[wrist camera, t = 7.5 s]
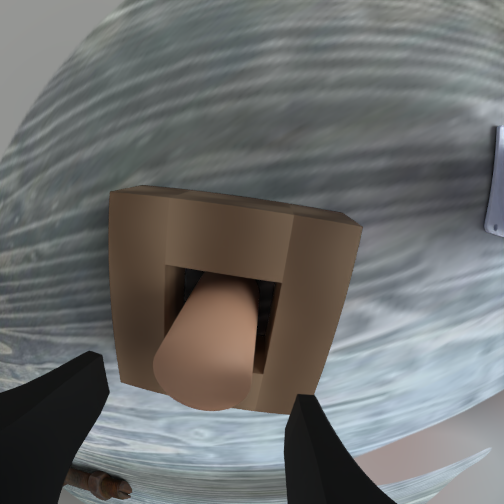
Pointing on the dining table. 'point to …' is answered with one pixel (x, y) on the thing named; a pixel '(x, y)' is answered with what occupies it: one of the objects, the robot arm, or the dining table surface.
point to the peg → (211, 344)
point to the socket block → (230, 263)
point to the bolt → (98, 484)
